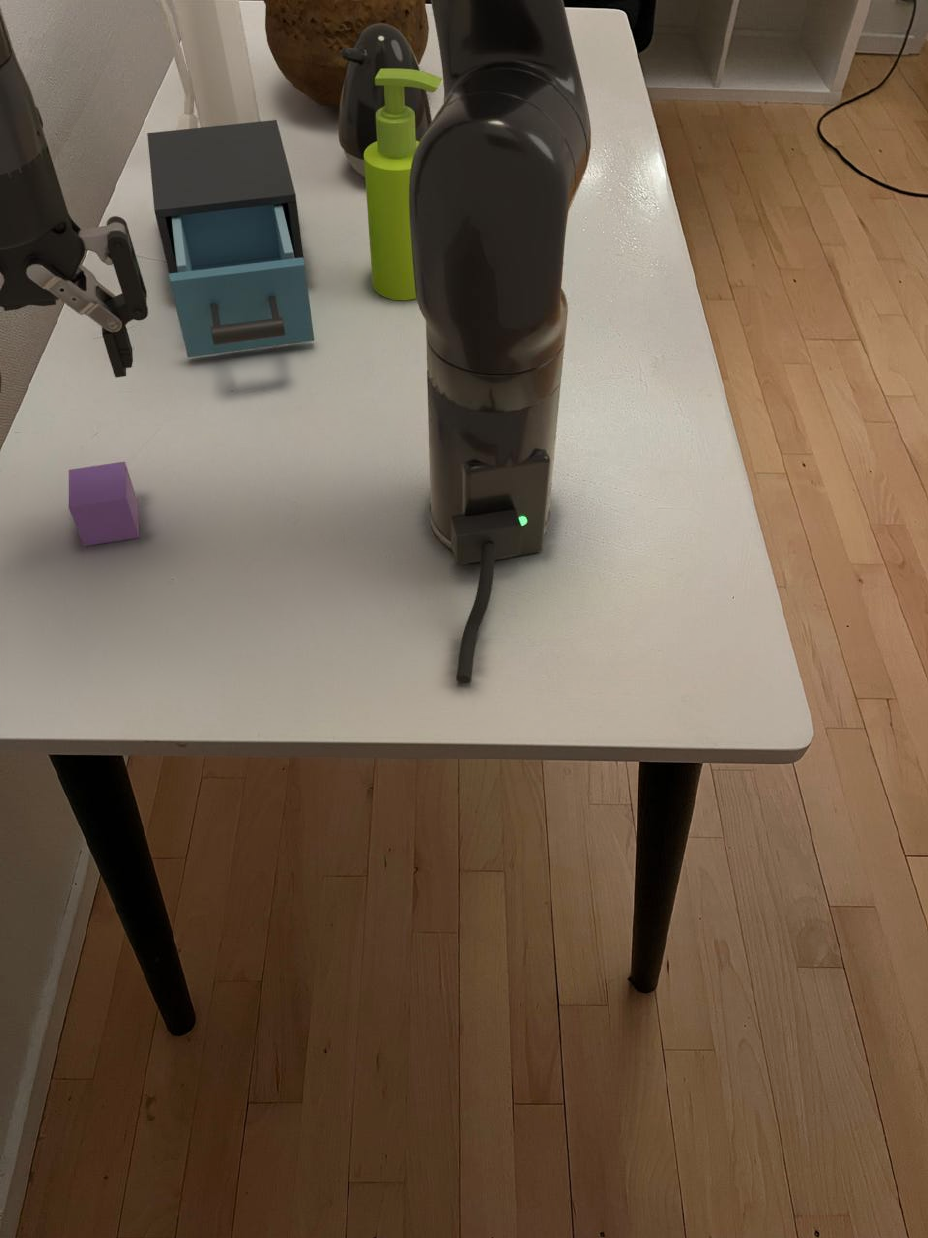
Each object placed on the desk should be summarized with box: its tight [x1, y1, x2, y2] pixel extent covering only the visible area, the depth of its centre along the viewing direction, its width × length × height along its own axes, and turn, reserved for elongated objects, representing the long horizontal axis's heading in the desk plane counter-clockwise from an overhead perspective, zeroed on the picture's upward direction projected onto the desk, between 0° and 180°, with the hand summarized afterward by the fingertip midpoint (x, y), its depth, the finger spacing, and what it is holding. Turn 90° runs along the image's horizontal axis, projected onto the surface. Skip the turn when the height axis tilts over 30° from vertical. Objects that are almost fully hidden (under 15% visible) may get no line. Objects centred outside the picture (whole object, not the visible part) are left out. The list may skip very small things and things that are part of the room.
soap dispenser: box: [364, 69, 443, 301], centre depth 96 cm, size 6×7×20 cm
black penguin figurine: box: [337, 23, 433, 178], centre depth 112 cm, size 10×10×15 cm
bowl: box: [263, 0, 430, 109], centre depth 123 cm, size 19×19×15 cm
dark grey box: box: [146, 119, 305, 275], centre depth 103 cm, size 15×13×10 cm
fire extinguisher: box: [154, 0, 261, 130], centre depth 110 cm, size 7×12×25 cm, turn 103°
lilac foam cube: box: [68, 461, 140, 547], centre depth 81 cm, size 4×4×4 cm
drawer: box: [168, 204, 315, 358], centre depth 95 cm, size 18×11×8 cm, turn 13°
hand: (59, 377), depth 72 cm, fingers open, 8 cm apart
